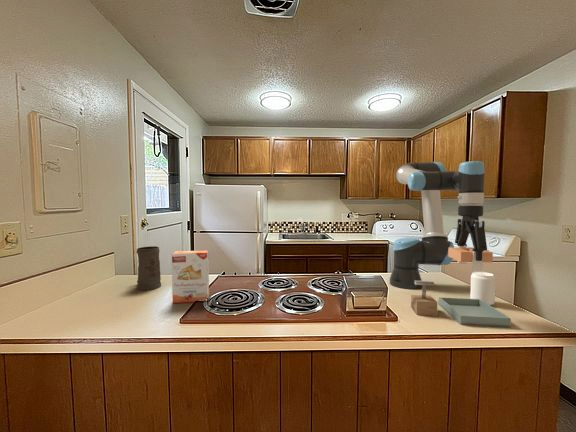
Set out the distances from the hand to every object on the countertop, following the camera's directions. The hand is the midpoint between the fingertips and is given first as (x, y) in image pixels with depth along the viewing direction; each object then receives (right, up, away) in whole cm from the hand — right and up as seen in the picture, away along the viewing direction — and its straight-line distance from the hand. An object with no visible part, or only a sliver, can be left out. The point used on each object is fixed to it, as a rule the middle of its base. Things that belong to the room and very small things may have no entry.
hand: (469, 266), depth 99 cm
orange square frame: (0, +3, 0) cm, 3 cm away
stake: (-15, -18, +4) cm, 23 cm away
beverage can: (+14, -18, +13) cm, 26 cm away
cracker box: (-107, -18, +16) cm, 109 cm away
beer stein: (-136, -17, +37) cm, 142 cm away
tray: (+1, -18, +1) cm, 18 cm away
